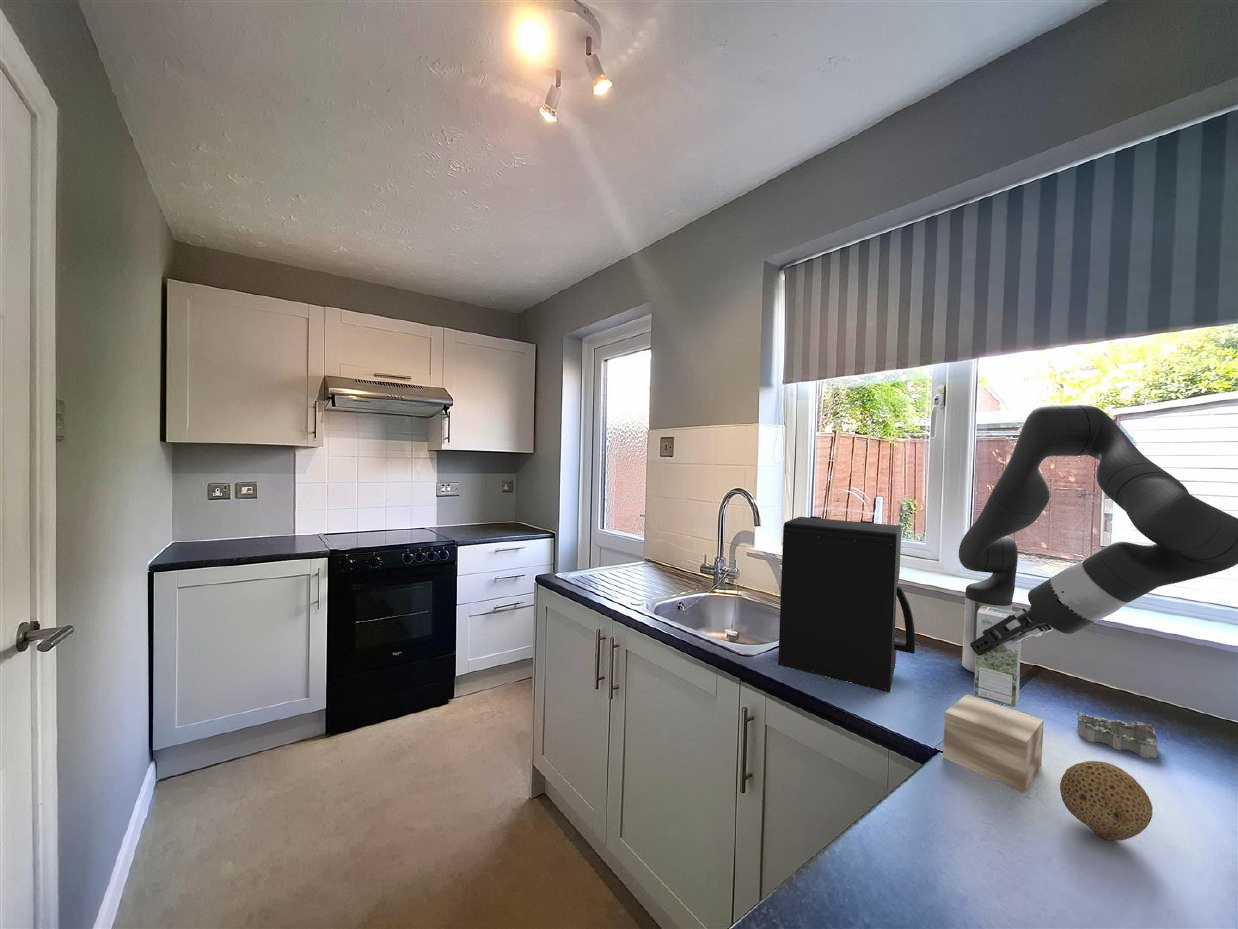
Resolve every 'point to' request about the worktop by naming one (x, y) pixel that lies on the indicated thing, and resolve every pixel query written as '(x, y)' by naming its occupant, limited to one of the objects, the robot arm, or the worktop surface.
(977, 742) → the wooden block
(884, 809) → the worktop surface
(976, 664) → the syrup box
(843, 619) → the coffee maker
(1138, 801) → the natural sponge
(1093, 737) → the egg carton
